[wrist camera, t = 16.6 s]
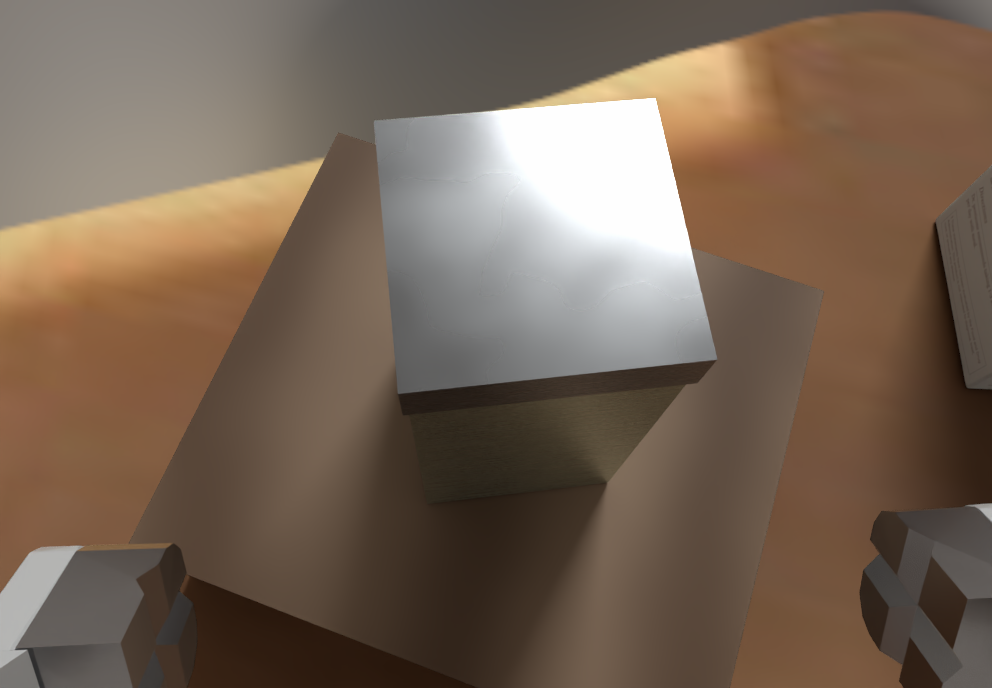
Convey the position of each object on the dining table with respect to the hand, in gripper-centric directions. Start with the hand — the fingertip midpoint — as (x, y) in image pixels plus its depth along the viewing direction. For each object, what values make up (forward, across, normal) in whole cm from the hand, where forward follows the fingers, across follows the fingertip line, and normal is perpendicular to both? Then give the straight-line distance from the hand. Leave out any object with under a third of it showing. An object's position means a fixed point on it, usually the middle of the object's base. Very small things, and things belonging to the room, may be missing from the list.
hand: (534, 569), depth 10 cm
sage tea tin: (+13, 0, +5) cm, 14 cm away
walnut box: (+17, 0, +9) cm, 19 cm away
